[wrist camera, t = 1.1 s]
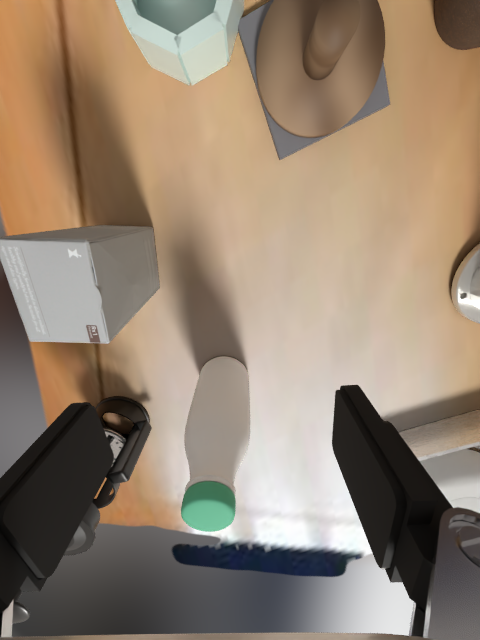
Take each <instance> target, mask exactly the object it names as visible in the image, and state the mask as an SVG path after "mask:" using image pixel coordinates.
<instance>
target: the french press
mask: <svg viewBox="0 0 480 640" xmlns="http://www.w3.org/2000/svg"><path fill="white" fill-rule="evenodd" d="M95 409H96V411H97V414H98V416H99V419H100V421H101V424H102V426H103V429H104V431H105V434H106V436H107V439H108V441H109V444H110V446H111V449H112V451H113V454H114V461H113V464H112V466H111V468H110V470H109V471H108V473H107V475H106V478H107V480H106V482H105V483H104V485H103V487H102V489H101V491H100V493H99V495H98V497H97V499H93V501H92V503H91V505H90V507H89V508H88V510H87V512H86V514H85V516H84V518H83V520H82V521H81V523H80V525H79V527H78V529H77V531H76V533H75V534H74V536H73V538H72V540H71V542H70V544H69V546H68V547H67V549H66V551H65V553H64V555H76V554H80V553H82V552H85V551H87V550H88V549H89V548H90V547H91V546H92V545H93V542H94V540H95V529H96V527H97V525H98V523H99V520H100V513H99V510H98V509H99V508H103V507H105V506H107V505H109V504H110V503H111V502H112V501H113V499H114V497H115V495H116V493H117V491H118V489H119V486H120V483H122V482H126V481H128V480H129V479H130V476H131V474H132V472H133V470H134V467H135V465H136V463H137V461H138V458H139V456H140V454H141V451H142V449H143V447H144V445H145V442H146V440H147V438H148V436H149V433H150V431H151V425H150V424H149V423H150V419H149V415H148V413H147V411H146V410H145V408H144V407H143V406H142V405H141V404H139V403H138V402H136V401H134V400H132V399H129V398H126V397H121V396H114V397H109V398H106V399H104V400H102V401H101V402H100V403H99V404H98V405H97V406H96V408H95ZM104 413H116V414H119V415H122V416H124V417H126V418H128V419H129V420H131V421H132V422H133V423H134V426H133V428H132V430H131V432H130V433H129V434H121V433H120V432H118V431H116V430H114V429H111V428H108V427H107V426H106V425H105V424H104V422H103V420H102V416H103V415H104ZM112 488H113V489H114V493H113V494H111V495H109V494H110V492H111V490H112ZM21 594H22V591H21V589H19V591H18V592H17V594H16V596H15V597H14V599H13V618H12V623H19V622H23V621H25V620H27V619H28V618H29V616H30V611H29V609H28V608H27V607H26V606H24V605H22V604H20V603H18V602H17V601H18V599H19V597H20V595H21Z"/></svg>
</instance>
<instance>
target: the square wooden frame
mask: <svg viewBox="0 0 480 640" xmlns="http://www.w3.org/2000/svg"><path fill="white" fill-rule="evenodd" d="M398 433H399V434H400V435H401V437H402V438H403V439H404V441H405V442H406V444H407V445H408V446H409V448H410V449H411V450H412V452H413V453H414V455H415V456H416V457H417V459H418V460H419V461H421V460H425V459H429V458H432V457H436V456H440V455H444V454H448V453H452V452H455V451H459V450H463V449H467V448H471V447H474V446H478V445H480V409H478V410H475V411H471V412H468V413H464V414H461V415H457V416H454V417H450V418H447V419H443V420H440V421H436V422H433V423H429V424H426V425H422V426H419V427H415V428H412V429H408V430H405V431H401V432H398ZM382 569H385V568H382Z"/></svg>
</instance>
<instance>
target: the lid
mask: <svg viewBox="0 0 480 640" xmlns="http://www.w3.org/2000/svg"><path fill="white" fill-rule="evenodd" d="M384 49H385V29H384V21H383V16H382V12H381V9H380V6H379V3H378V1H377V0H274V1H273V3H272V4H271V6H270V8H269V10H268V12H267V14H266V16H265V19H264V22H263V24H262V27H261V31H260V35H259V39H258V46H257V55H256V78H257V85H258V89H259V93H260V97H261V99H262V102H263V105H264V107H265V108H266V110H267V112H268V114H269V115H270V117H271V118H272V119H273V120H274V122H275V123H276V124H277V125H278V126H280V127H281V128H282V129H283V130H285V131H286V132H288V133H290V134H292V135H295V136H298V137H302V138H318V137H322V136H326V135H328V134H331V133H333V132H335V131H337V130H338V129H340V128H341V127H343V126H344V125H345V124H347V123H348V122H349V121H350V120H351V119H352V118H353V117H354V116H355V115H356V114H357V113H358V112H359V111H360V109H361V108H362V107H363V106H364V104H365V103H366V101H367V100H368V98H369V97H370V95H371V93H372V91H373V89H374V87H375V85H376V82H377V80H378V77H379V74H380V71H381V67H382V63H383V58H384Z"/></svg>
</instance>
